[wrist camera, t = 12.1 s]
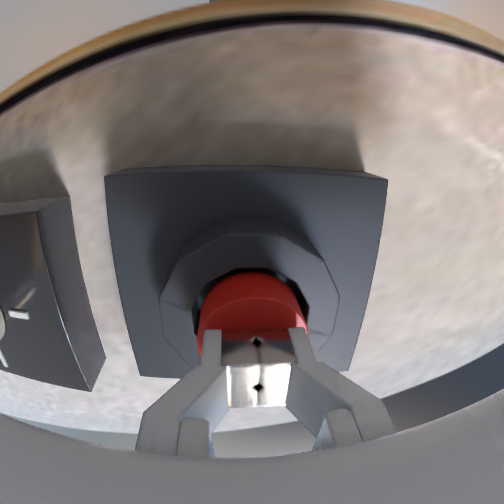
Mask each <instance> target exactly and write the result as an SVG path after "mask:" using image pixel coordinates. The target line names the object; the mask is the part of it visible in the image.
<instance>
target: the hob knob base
mask: <svg viewBox="0 0 504 504" xmlns="http://www.w3.org/2000/svg"><path fill="white" fill-rule="evenodd" d="M0 309H1V311H2V314H3V317H4V321H5V334H4V336H3V338H2V339H1V340H0V370H3V371H6V372H9V373H13V374H16V375H19V376H23V377H26V378H30V379H34V380H37V381H41V382H45V383H49V384H54V385H58V386H63V387H67V388H72V389H77V390H82V391H88V392H92V389H93V387H94V385H95V382H96V380H97V378H98V375H99V373H100V371H101V368H102V366H103V364H104V362H105V359H106V357H105V354H104V351H103V348H102V345H101V342H100V339H99V336H98V332H97V329H96V326H95V322H94V319H93V315H92V312H91V308H90V304H89V301H88V297H87V293H86V289H85V284H84V280H83V276H82V271H81V266H80V261H79V256H78V251H77V245H76V240H75V233H74V227H73V220H72V213H71V205H70V196H58V197H49V198H40V199H31V200H23V201H16V202H8V203H2V204H0Z"/></svg>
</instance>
